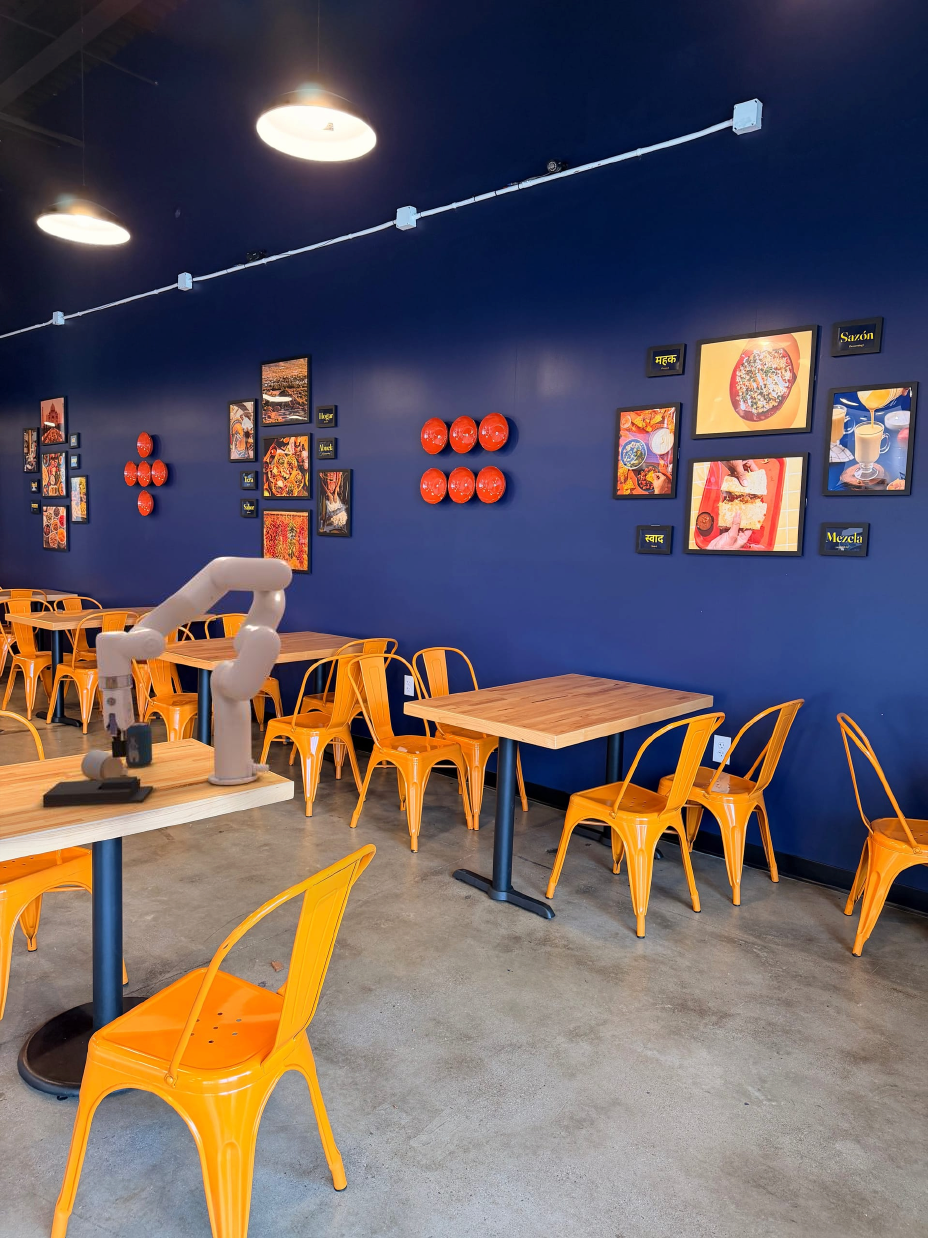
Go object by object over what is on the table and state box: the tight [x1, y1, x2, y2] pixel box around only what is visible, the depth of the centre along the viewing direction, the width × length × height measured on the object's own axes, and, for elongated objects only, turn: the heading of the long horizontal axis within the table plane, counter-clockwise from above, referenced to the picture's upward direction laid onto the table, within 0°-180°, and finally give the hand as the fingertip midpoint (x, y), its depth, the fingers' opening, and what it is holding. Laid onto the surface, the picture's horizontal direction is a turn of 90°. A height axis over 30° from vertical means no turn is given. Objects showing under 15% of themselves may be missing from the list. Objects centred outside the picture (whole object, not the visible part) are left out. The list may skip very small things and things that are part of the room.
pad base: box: [42, 778, 154, 808], centre depth 194 cm, size 22×12×3 cm, turn 100°
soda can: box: [124, 721, 153, 769], centre depth 225 cm, size 7×7×12 cm
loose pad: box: [102, 775, 138, 796], centre depth 195 cm, size 7×5×4 cm
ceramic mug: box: [80, 749, 129, 780], centre depth 211 cm, size 11×8×8 cm
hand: (120, 756), depth 195 cm, fingers closed
